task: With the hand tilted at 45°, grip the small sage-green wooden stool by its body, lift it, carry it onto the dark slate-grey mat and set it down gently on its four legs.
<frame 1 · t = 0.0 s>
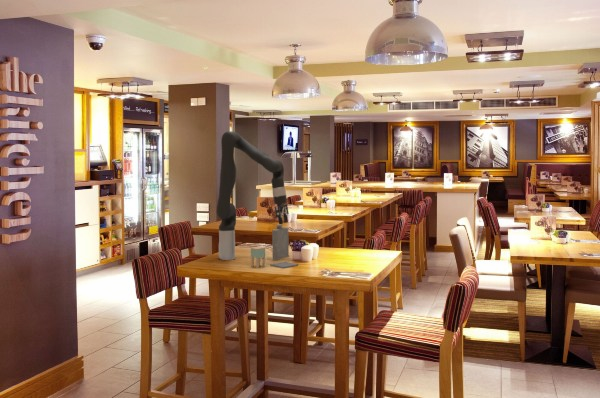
hand: (283, 223, 354), 22 cm above the table, tool pointing down, fingers open, 8 cm apart
stool: (258, 266, 342), on the table
hip flask: (280, 258, 368), on the table
slate mat: (284, 265, 344), on the table
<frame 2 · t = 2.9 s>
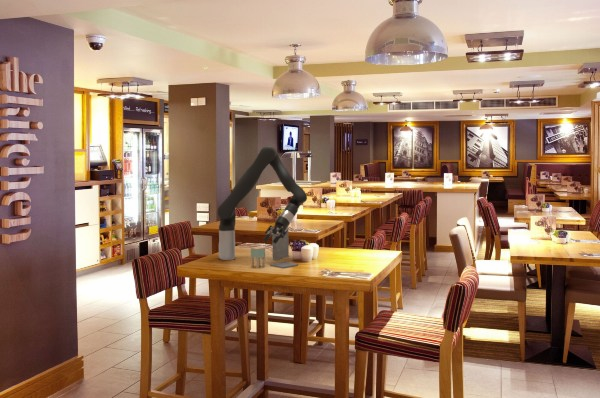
hand: (269, 241, 347), 13 cm above the table, tool tilted 45°, fingers open, 8 cm apart
nothing on the table moved.
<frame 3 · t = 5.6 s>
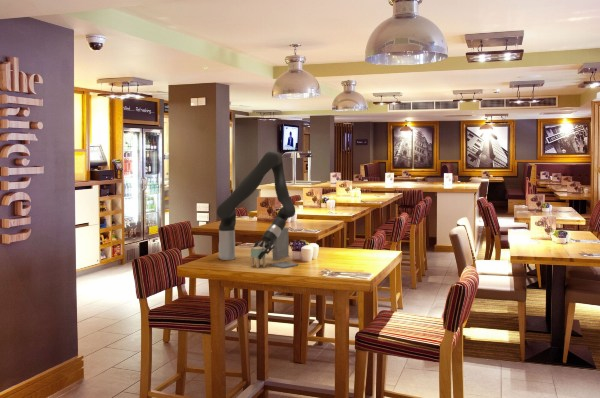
hand: (255, 257, 341), 5 cm above the table, tool tilted 45°, fingers closed on stool, 5 cm apart
stool: (258, 266, 342), on the table, touching gripper
everything else where it was.
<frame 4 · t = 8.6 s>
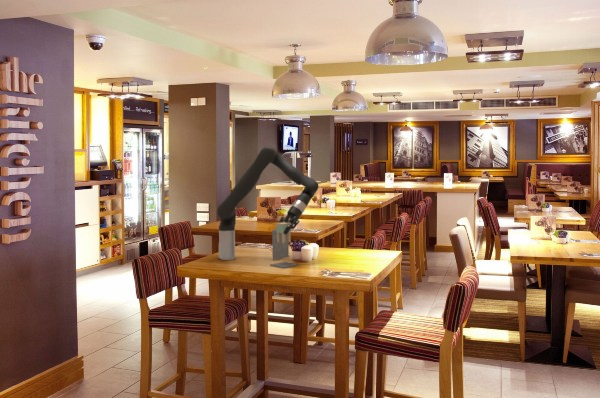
hand: (281, 233, 341), 18 cm above the table, tool tilted 45°, fingers closed on stool, 5 cm apart
stool: (283, 242, 343), point 13 cm above the table, touching gripper
everything else where it was.
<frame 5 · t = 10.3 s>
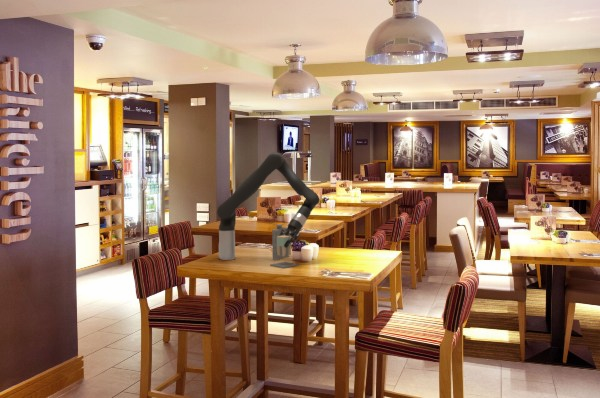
hand: (281, 246, 342), 11 cm above the table, tool tilted 45°, fingers closed on stool, 5 cm apart
stool: (284, 255, 344), point 6 cm above the table, touching gripper
everything else where it was.
when the fingers open (7 cm above the table, at t = 11.8 s): stool drops 1 cm, resting on slate mat.
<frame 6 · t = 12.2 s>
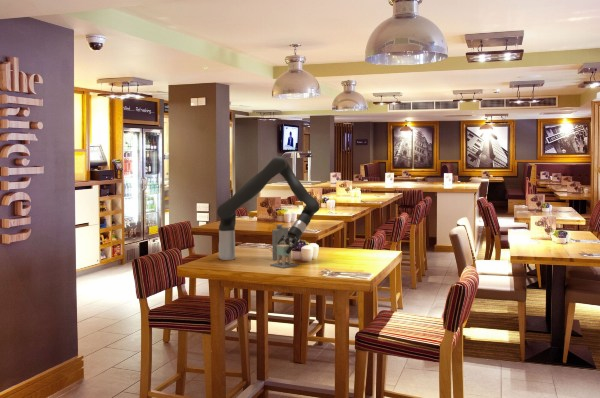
hand: (282, 252, 343), 8 cm above the table, tool tilted 45°, fingers open, 8 cm apart
stool: (284, 264, 344), point 1 cm above the table, touching slate mat
everything else where it was.
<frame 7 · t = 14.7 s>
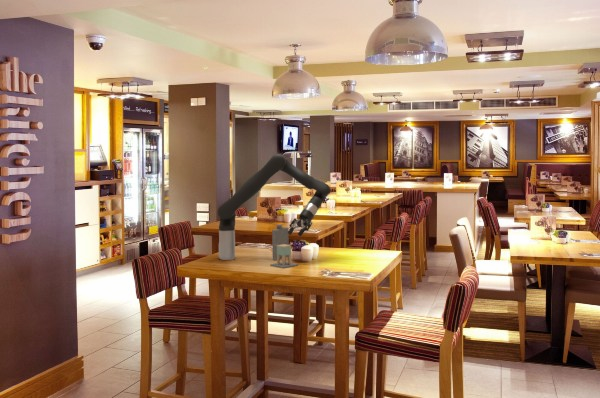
hand: (294, 234, 348), 17 cm above the table, tool tilted 45°, fingers open, 8 cm apart
nothing on the table moved.
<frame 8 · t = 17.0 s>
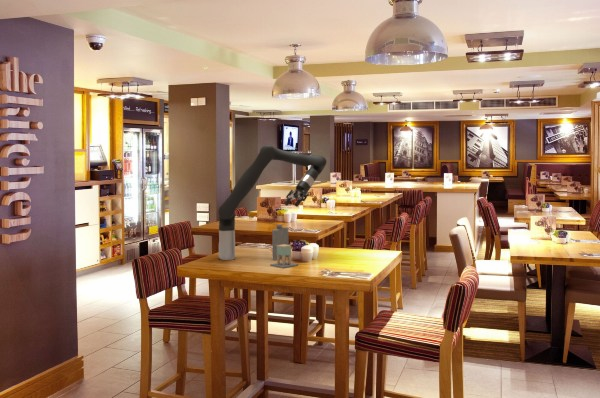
hand: (290, 205, 353), 33 cm above the table, tool tilted 45°, fingers open, 8 cm apart
nothing on the table moved.
at the end: stool inside the target area on the slate mat (0.2 cm from its centre), point 0.8 cm above the slate mat's base; stool tilted 0°; the gripper is holding nothing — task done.
